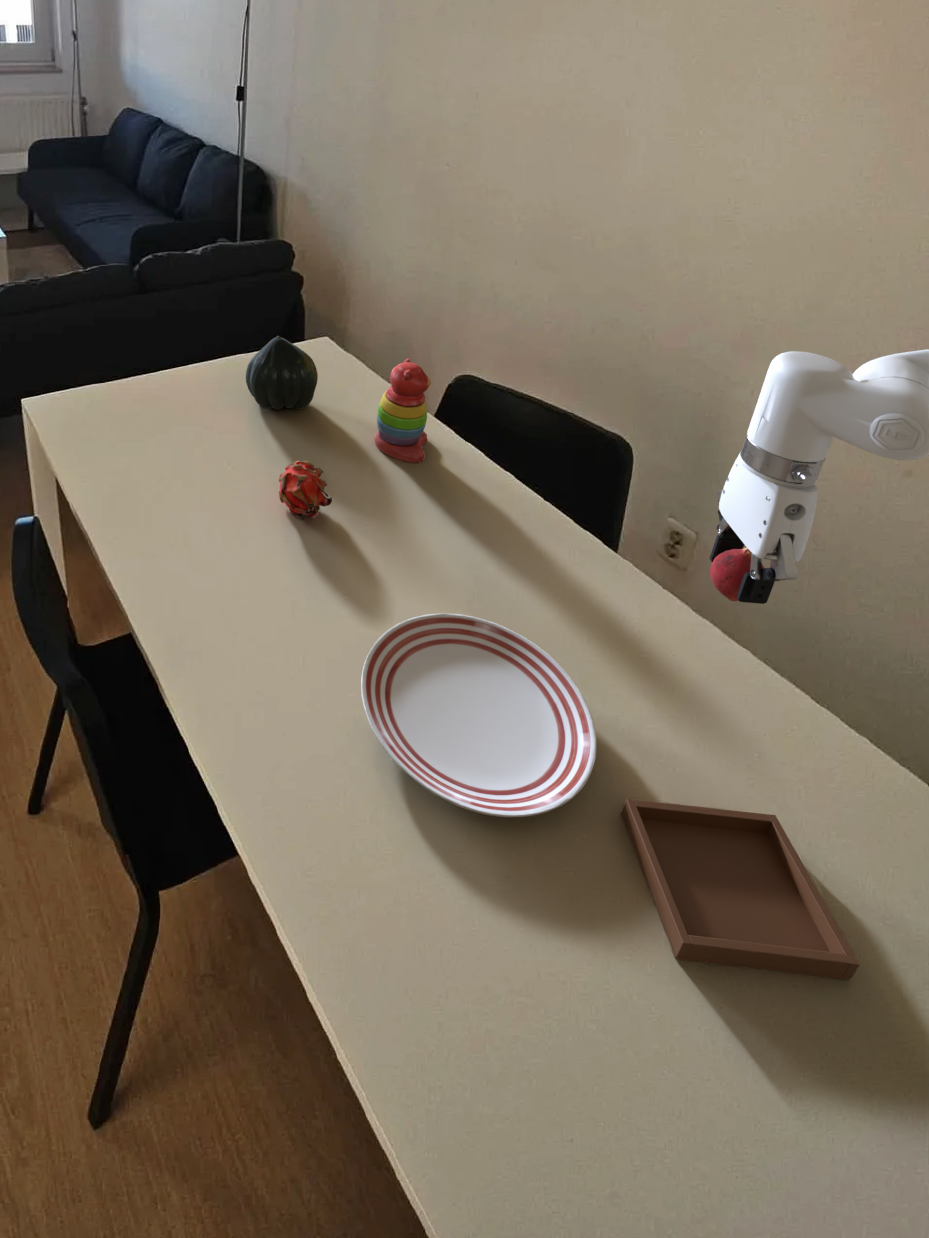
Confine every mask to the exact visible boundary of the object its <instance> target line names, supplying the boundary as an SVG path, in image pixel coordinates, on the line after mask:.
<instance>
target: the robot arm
mask: <svg viewBox="0 0 929 1238" xmlns="http://www.w3.org/2000/svg"><path fill="white" fill-rule="evenodd" d="M834 438H835V439H838V440H840V441H842V442H845V443H847V444H849V445H852V446H854V447H856V448H858V449H861V450H863V451H865V452H868V453H869V454H873V455H876V456H878V457H881V458H885V459H888V460H896V461H905V462H906V461H916V460H920V459H924V458H926V457H929V349H921V350H913V351H912V350H911V351H906V352H905V351H904V352H900V353H893V354H888V355H884V356H879V357H877V358H874V359H872V360H869V361H867V362H865V363H863V364H861V365H860V366H859V367H857V369H856V370H855V371H854V372H853V373H852V371H851V370H850V369H849V368H848V367H847V366H846V365H844V364H843V363H842V362H839V361H837V360H835V359H833V358H830V357H828V356H825V355H821V354H819V353H814V352H809V351H797V350H796V351H795V350H791V351H786V352H782V353H779V354H778V355H776V356H774V358H773V359H772V360H771V361H770V364H769V366H768V369H767V372H766V375H765V378H764V381H763V383H762V387H761V390H760V393H759V396H758V399H757V402H756V405H755V408H754V410H753V414H752V417H751V420H750V423H749V425H748V428H747V432H746V434H745V437H744V441H743V444H742V446H741V449H740V452H739V454H738V455H737V457H736V458H735V460H734V463H733V465H732V467H731V469H730V471H729V474H728V476H727V478H726V481H725V482H724V485H723V489H721V490H718V491H716V498H717V505H718V509H717V514H718V521H719V522H718V523H717V524H716V526H715V527H716V529H715V530H716V533H717V535H716V537H715V541H714V544H713V547H712V549H711V552H710V556H709V560H710V562H711V564H712V563H713V561H714V559H715V557H717V556H718V555H719V554H721V553H723V552H725V551H727V550H732V549H743V548H746V547H747V548H748V549H749V550H750V551H751V552H752V553H751V566H750V573H749V572H747V573H746V572H745V574H744V577H743V580H742V583H741V585H740V588H739V591H738V594H737V599H738V600H739V601H738V602H740V603H746V604H747V603H748V604H759V605H760V604H762V605H765V604H767V603H768V601H769V598H770V596H771V593H772V590H773V588H774V586H775V582H781V581H786V580H787V581H789V580H790V581H793V580H798V575H799V574H798V569H797V563H798V562H800V561H801V559H802V557H803V555H804V553H805V550H806V547H807V544H808V541H809V538H810V534H811V531H812V528H813V524H814V519H815V515H816V511H817V510H816V509H817V504H818V495H819V494H818V493H819V488H818V487H817V486H816V484H817V482H818V480H819V477H820V474H821V471H822V468H823V466H824V464H825V461H826V458H827V456H828V453H829V451H830V449H831V446H832V443H833V440H834ZM763 560H769V561H770V567H764V568H762V565H763Z"/></svg>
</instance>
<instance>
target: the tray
mask: <svg viewBox="0 0 929 1238" xmlns="http://www.w3.org/2000/svg"><path fill="white" fill-rule="evenodd" d="M620 816H621V819H622V822H623V824H624V827H625V830H626V833H627V834H628V837H629V840H630V843H631V846H632V848H633V851H634V853H635V856H636V859H637V861H638V864H639V867H640V870H641V872H642V875H643V877H644V880H645V882H646V885H647V888H648V890H649V893H650V895H651V899H652V901H653V903H654V906H655V909H656V912H657V914H658V916H659V920H660V922H661V924H662V927H663V930H664V932H665V935H666V939H667V940H668V943H669V946H670V949H671V952H672V953H673V956H674V959H675V960H680V961H687V962H696V963H703V964H712V965H720V966H729V967H736V968H743V969H744V968H745V969H750V970H751V969H752V970H758V971H759V970H760V971H767V972H768V971H769V972H775V973H785V974H791V975H792V974H793V975H800V976H807V977H818V978H825V979H832V980H833V979H834V980H840V981H841V980H842V981H851V979H852V977H853V976H854V975H855V973H856V971H857V970H858V968H859V967H860V965H861V964H860V963H859V961H858V959H857V957H856V955H855V954H854V952H853V950H852V948H851V946H850V944H849V943H848V941H847V939H846V937H845V936H844V934H843V933H842V931H841V929H840V927H839V926H838V924H837V922H836V920H835V918H834V917H833V914H832V913H831V911H830V908H829V907H828V906H827V903H826V902H825V901H824V899H823V897H822V895H821V893H820V892H819V890H818V888H817V886H816V885H815V882H814V880H813V879H812V877H811V876H810V874H809V872H808V870H807V868H806V867H805V865H804V863H803V861H802V860H801V858H800V856H799V855H798V852H797V851H796V849H795V847H794V846H793V843H792V842H791V840H790V838H789V836H788V834H787V833H786V831H785V829H784V828H783V825H782V824H781V822H780V821H779V819H778V816H776V814H769V813H761V812H760V813H759V812H749V811H743V810H742V811H741V810H733V809H723V808H715V807H706V806H697V805H688V804H680V803H671V802H660V801H652V800H643V799H642V800H641V799H633V798H626V799H625V801H624V803H623V806H622V809H621V811H620Z"/></svg>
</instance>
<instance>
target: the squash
mask: <svg viewBox="0 0 929 1238" xmlns="http://www.w3.org/2000/svg"><path fill="white" fill-rule="evenodd" d="M246 367H247V368H246V370H245V383H246V386H247V389H248V391H249V393H250V395H251V396H252V397H253V398H254V400H255V402H256V404H257V405H259V406H260V407H261V408H264V409H275V410H281V409H282V408H283V407H285V408H286V409H288V408H289V409H291V408H292V409H296V410H300V409H301V410H302V409H304V408H307V407H308V406H309V405H310V404H311V402H312V401H313V399H314V396H315V392H316V388H317V385H318V379H319V378H318V377H319V374H318V369H317V366H316V364H315V362H314V360H313V358H312V357H311V356H310V355H309V354H308V353H307V352H305V351H304V350H302V349H301V348H300V347H298V346H297V345H295V344H294V343H292V342H291V341H288V340H287V339H285V338H283V337H281V336H280V335H277V336H275V337H273V338H272V339H270V340H269V342H267V344H265V345H264V346H263V347H262V348H260V350H259V351H257V352H256V354H255V355H254V356H253V357H252V358H250V360H249V362H248V364H247V366H246Z"/></svg>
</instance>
